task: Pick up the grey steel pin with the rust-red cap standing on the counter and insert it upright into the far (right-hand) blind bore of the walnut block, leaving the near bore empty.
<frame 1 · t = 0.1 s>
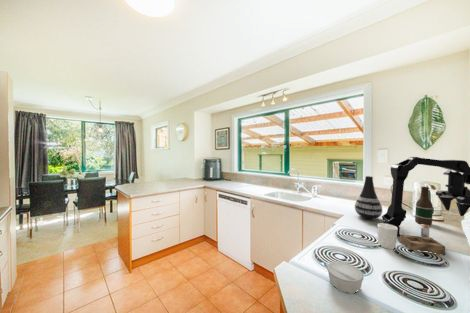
hand: (454, 213, 100), 15 cm above the countertop, fingers open, 9 cm apart
ramekin: (344, 285, 68), on the countertop
white cup: (386, 246, 95), on the countertop
beer bottle: (423, 223, 123), on the countertop
bore block: (420, 248, 93), on the countertop
vase: (367, 218, 133), on the countertop
pin: (424, 242, 99), on the countertop
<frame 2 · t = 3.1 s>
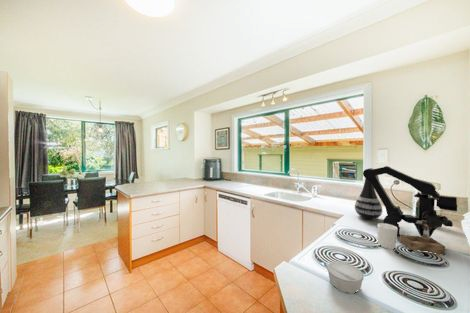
hand: (424, 236, 99), 3 cm above the countertop, fingers closed on pin, 3 cm apart
pin: (424, 242, 99), on the countertop, touching gripper
everything else where it was.
when the fingers open (5 cm above the countertop, at t = 6.5 s): pin stays where it is, resting on bore block.
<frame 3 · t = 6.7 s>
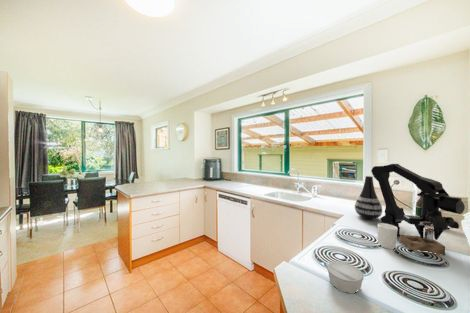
hand: (428, 238, 92), 5 cm above the countertop, fingers open, 5 cm apart
pin: (428, 246, 92), point 1 cm above the countertop, touching bore block
everything else where it was.
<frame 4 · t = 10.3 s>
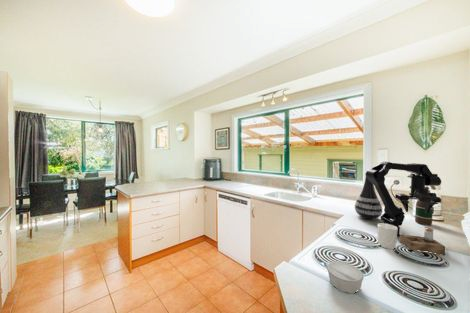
hand: (416, 212, 108), 12 cm above the countertop, fingers open, 9 cm apart
nothing on the countertop moved.
at the end: pin 0.0 cm from the target spot on the bore block, point 1.1 cm above the bore block's base; pin tilted 1°; the gripper is holding nothing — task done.
